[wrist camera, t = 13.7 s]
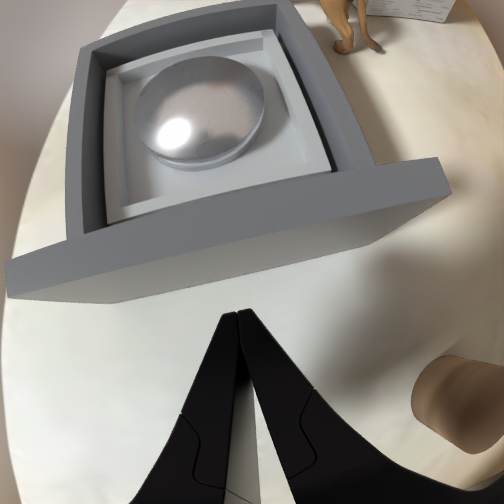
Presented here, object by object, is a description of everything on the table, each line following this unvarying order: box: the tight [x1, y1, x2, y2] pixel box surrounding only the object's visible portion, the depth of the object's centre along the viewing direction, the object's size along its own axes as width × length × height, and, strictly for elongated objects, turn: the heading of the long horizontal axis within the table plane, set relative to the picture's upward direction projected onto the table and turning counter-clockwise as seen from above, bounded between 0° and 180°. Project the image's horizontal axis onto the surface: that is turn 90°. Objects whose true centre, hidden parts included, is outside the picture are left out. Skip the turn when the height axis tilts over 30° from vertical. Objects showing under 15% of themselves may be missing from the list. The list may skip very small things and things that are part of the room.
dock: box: [65, 0, 376, 240], centre depth 15 cm, size 15×14×4 cm
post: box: [411, 356, 504, 454], centre depth 11 cm, size 4×4×5 cm
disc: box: [133, 56, 264, 172], centre depth 15 cm, size 7×7×2 cm
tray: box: [5, 29, 452, 304], centre depth 12 cm, size 14×14×8 cm
